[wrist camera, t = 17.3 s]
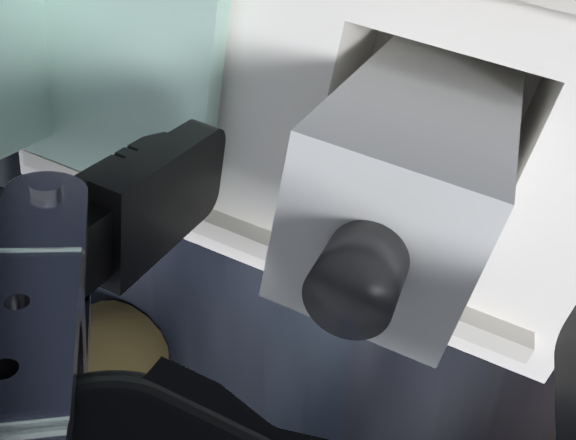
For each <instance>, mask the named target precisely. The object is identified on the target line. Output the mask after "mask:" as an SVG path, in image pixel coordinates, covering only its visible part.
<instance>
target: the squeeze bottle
mask: <svg viewBox="0 0 576 440" xmlns="http://www.w3.org/2000/svg"><path fill="white" fill-rule="evenodd" d="M161 356H162V357H164V358H167V359H169V353H168V346H167V344H166V342H165V340H164V338H163V336H162V333H161V331H160V330H159V329H158V328H157V327H156V326H155V325H154V323H153V322H152V321H151V320H150V319H149V318H148V317H147V316H146V315H144V314H143V313H142V312H140V311H139V310H137V309H136V308H134V307H133V306H131V305H128V304H125V303H122V302H119V301H116V300H106V301H99V302H96V303H94V304H91V316H90V340H89V364H88V372H94V371H105V370H127V371H136V372H143V373H148V372H149V370H150V369H151V368H152V367H153V366H154V365H155V363H156V362H157V361H158V360H159V359H160V357H161Z"/></svg>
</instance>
